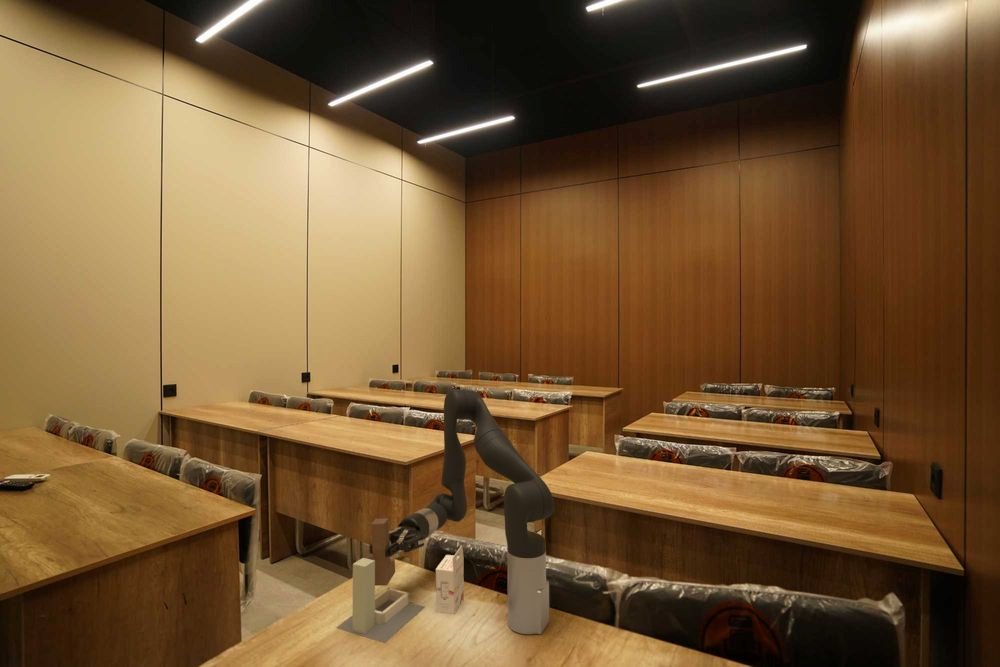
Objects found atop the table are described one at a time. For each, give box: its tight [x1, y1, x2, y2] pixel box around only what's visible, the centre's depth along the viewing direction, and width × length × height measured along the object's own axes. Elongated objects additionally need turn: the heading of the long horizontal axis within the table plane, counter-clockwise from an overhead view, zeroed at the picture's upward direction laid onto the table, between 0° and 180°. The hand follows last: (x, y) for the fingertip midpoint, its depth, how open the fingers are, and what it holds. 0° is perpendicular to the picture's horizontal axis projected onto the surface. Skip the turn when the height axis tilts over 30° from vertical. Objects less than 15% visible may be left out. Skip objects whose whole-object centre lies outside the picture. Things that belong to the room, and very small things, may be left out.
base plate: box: [335, 587, 426, 644], centre depth 114 cm, size 14×16×4 cm
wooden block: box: [370, 518, 396, 587], centre depth 118 cm, size 7×3×15 cm, turn 175°
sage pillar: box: [352, 557, 376, 634], centre depth 110 cm, size 4×4×15 cm
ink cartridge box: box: [435, 544, 465, 615], centre depth 120 cm, size 9×5×15 cm, turn 168°
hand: (378, 551), depth 115 cm, fingers closed on wooden block, 4 cm apart
